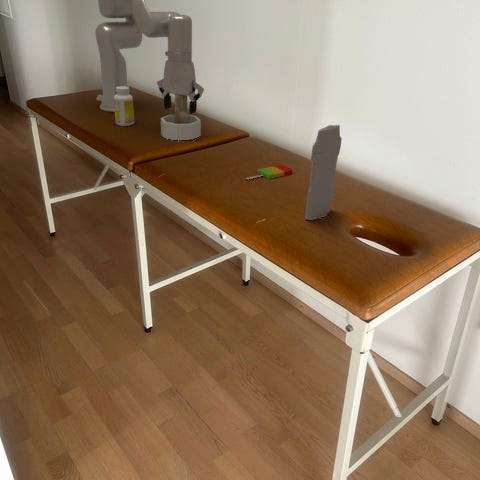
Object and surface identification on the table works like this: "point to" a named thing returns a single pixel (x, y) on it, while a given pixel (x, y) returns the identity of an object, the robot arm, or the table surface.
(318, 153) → the gray upright slab
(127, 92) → the supplement bottle
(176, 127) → the grey hollow ring
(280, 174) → the popsicle
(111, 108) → the robot arm
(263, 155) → the table surface
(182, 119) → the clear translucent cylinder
